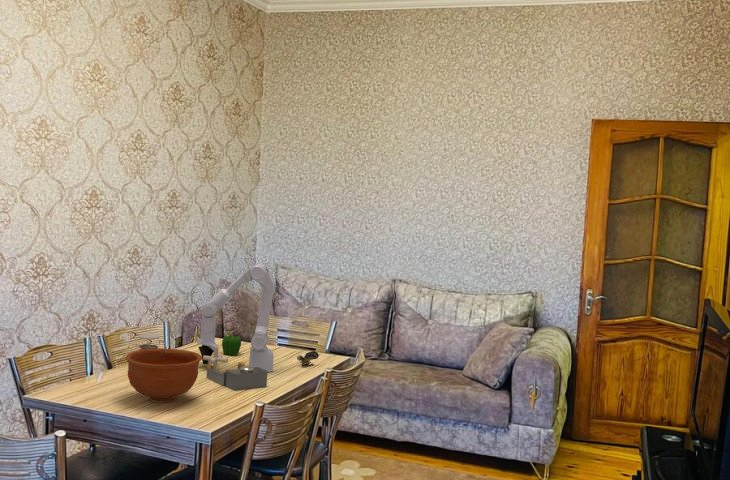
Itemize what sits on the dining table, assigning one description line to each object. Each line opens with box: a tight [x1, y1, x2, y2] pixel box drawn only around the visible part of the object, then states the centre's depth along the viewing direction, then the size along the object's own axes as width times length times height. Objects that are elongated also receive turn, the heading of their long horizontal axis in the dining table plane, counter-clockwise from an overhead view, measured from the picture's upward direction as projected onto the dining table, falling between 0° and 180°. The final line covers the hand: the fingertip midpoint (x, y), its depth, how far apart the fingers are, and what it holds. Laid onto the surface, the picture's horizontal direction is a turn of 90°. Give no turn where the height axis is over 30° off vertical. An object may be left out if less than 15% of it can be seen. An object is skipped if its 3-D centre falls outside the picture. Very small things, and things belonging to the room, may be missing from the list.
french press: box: [138, 307, 168, 350], centre depth 278 cm, size 10×12×25 cm
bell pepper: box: [221, 331, 242, 356], centre depth 320 cm, size 8×8×10 cm
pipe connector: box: [203, 346, 229, 370], centre depth 286 cm, size 10×10×10 cm
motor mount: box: [206, 361, 269, 391], centre depth 272 cm, size 15×20×7 cm
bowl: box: [125, 347, 202, 403], centre depth 242 cm, size 25×25×15 cm
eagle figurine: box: [296, 350, 320, 367], centre depth 309 cm, size 8×7×9 cm
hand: (205, 363), depth 292 cm, fingers closed
